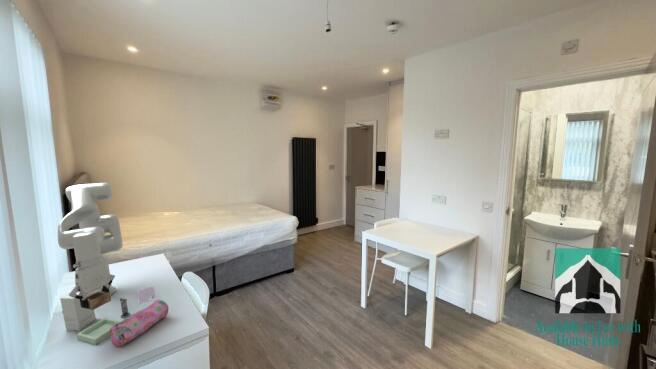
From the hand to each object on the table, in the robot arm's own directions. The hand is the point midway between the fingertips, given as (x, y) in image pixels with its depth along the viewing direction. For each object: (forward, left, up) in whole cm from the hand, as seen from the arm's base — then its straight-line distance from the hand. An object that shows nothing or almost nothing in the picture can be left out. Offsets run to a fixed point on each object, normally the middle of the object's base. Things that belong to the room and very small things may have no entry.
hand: (96, 302), depth 110 cm
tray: (0, 0, -14) cm, 14 cm away
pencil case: (+15, +6, -15) cm, 22 cm away
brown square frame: (0, 0, -1) cm, 1 cm away
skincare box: (-15, +2, -15) cm, 21 cm away
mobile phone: (-9, +28, -15) cm, 33 cm away
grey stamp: (-2, +12, -14) cm, 19 cm away
